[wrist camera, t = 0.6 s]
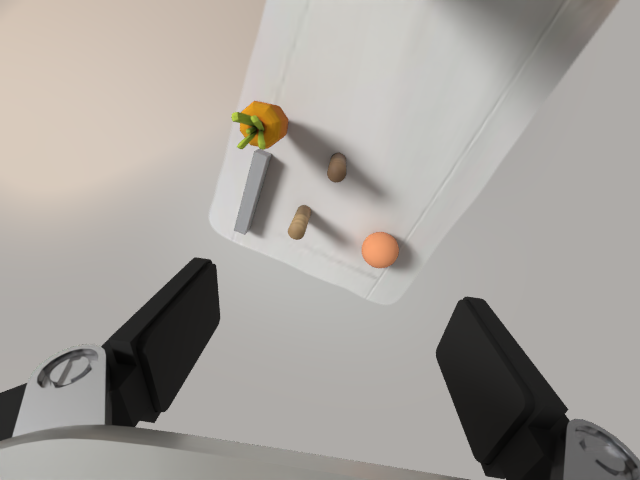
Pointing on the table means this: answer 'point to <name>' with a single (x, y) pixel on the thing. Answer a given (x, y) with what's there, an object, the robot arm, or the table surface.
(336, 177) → the walnut pin
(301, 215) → the oak pin
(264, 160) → the back wall
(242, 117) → the carrot
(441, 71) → the table surface
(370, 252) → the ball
